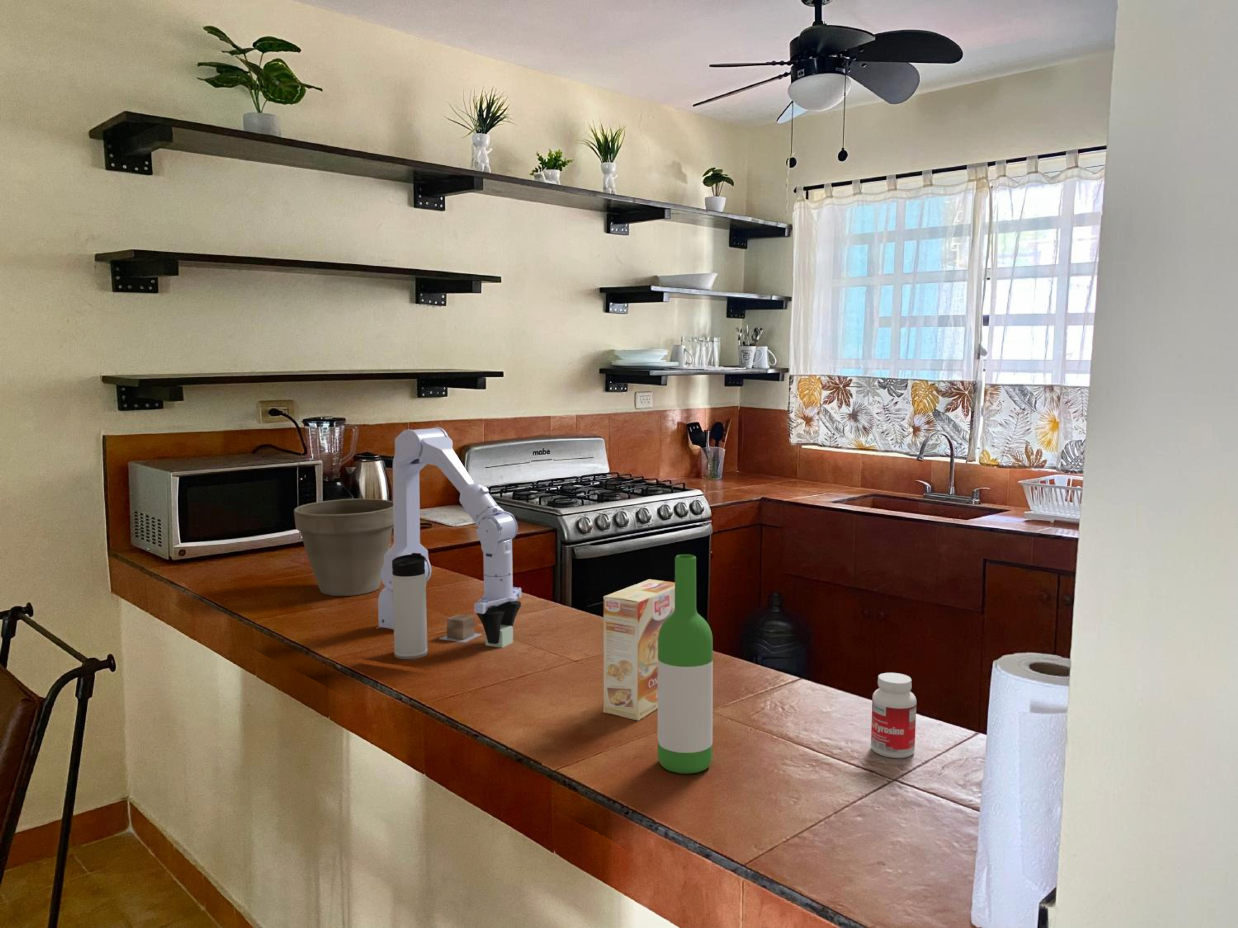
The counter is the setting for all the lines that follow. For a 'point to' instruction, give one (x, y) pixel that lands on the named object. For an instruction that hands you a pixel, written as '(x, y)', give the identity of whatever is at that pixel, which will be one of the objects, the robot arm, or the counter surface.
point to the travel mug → (409, 606)
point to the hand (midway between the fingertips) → (499, 639)
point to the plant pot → (346, 542)
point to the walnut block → (460, 627)
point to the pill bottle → (893, 716)
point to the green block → (503, 637)
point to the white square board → (461, 640)
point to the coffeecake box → (634, 646)
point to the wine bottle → (685, 679)
